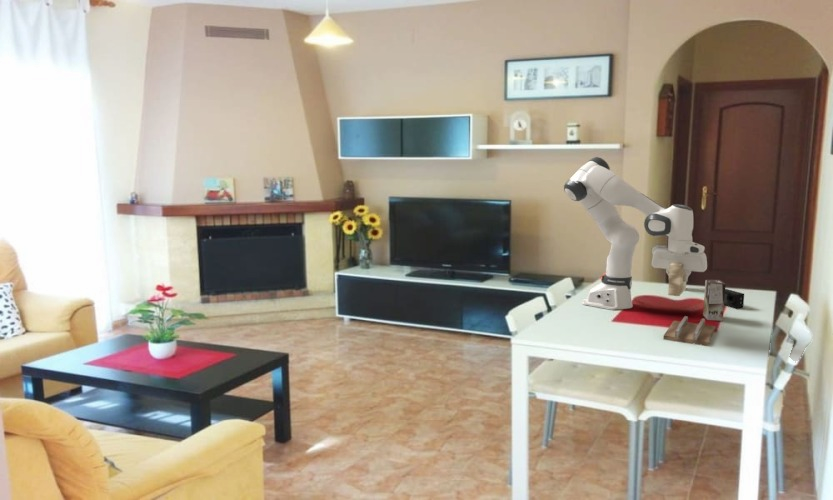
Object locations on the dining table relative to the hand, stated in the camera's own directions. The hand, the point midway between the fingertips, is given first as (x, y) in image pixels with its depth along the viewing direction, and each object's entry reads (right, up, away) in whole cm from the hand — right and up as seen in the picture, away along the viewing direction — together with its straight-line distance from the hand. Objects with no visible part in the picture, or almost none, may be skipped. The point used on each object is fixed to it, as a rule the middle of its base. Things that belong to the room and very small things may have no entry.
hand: (677, 280), depth 262 cm
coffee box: (+25, -18, +26) cm, 40 cm away
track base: (+5, -21, +2) cm, 22 cm away
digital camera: (+42, -14, +46) cm, 64 cm away
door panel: (0, -5, +1) cm, 4 cm away
